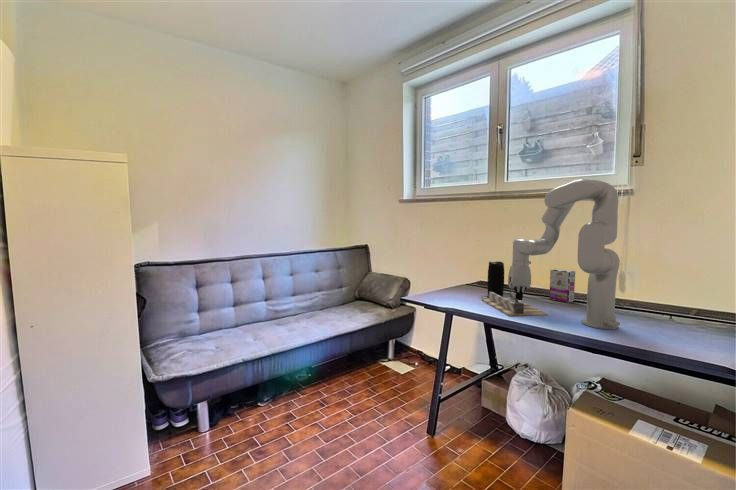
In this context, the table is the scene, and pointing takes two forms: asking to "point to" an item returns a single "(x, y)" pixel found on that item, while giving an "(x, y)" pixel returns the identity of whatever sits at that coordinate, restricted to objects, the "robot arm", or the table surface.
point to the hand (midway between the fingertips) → (519, 299)
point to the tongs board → (512, 306)
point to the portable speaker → (496, 278)
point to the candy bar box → (562, 285)
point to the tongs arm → (513, 297)
